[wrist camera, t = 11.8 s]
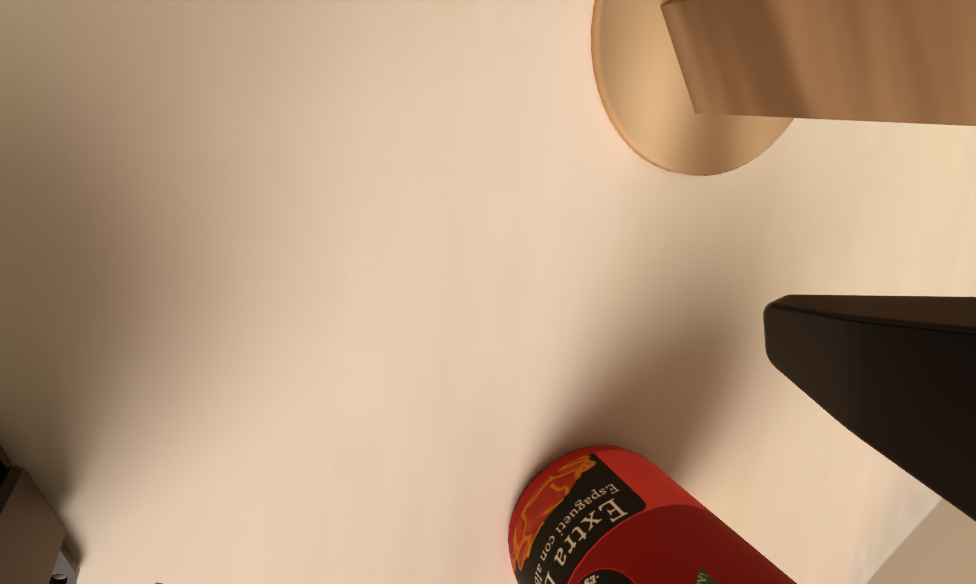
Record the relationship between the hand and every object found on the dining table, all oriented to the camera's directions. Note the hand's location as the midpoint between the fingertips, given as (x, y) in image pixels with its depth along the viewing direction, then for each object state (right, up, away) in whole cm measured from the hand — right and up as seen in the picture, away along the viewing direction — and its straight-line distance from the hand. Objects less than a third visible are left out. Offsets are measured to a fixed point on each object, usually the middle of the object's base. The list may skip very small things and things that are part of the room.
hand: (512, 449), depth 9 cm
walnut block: (+8, +11, +14) cm, 20 cm away
